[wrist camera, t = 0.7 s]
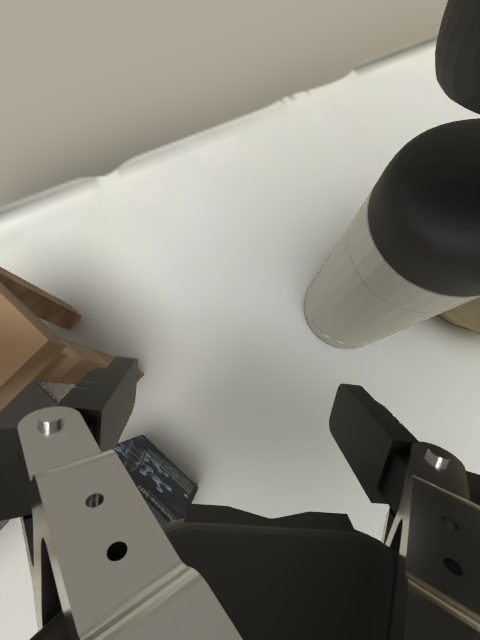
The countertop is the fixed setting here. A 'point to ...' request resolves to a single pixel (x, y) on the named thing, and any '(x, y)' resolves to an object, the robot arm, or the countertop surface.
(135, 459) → the box
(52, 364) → the low shelf
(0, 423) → the charcoal mat
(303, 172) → the countertop surface
